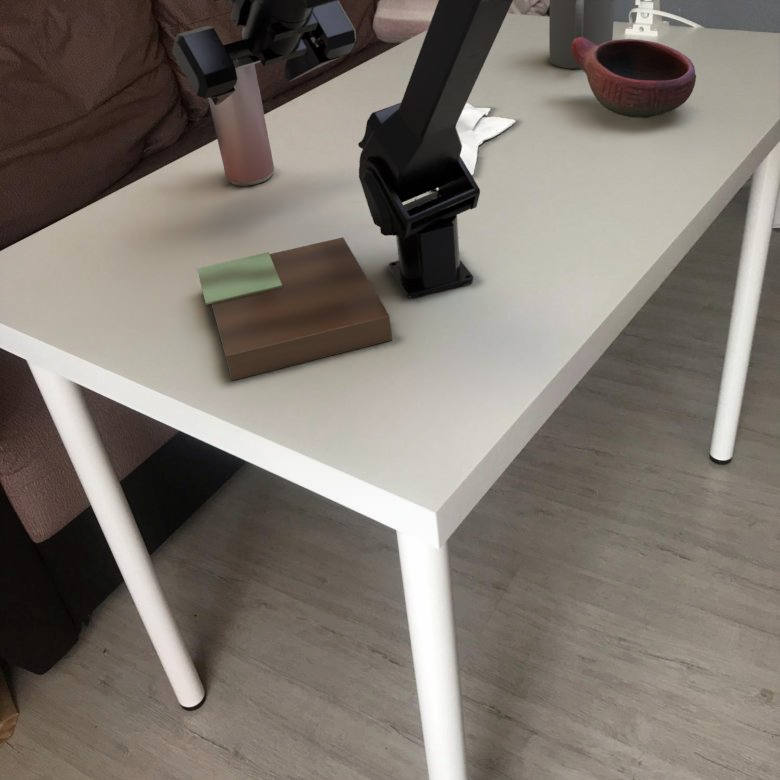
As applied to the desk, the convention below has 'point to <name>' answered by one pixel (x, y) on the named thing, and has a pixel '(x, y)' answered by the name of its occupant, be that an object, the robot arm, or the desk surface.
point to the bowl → (635, 75)
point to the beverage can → (243, 132)
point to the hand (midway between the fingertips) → (251, 89)
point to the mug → (578, 27)
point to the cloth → (477, 132)
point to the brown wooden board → (293, 307)
